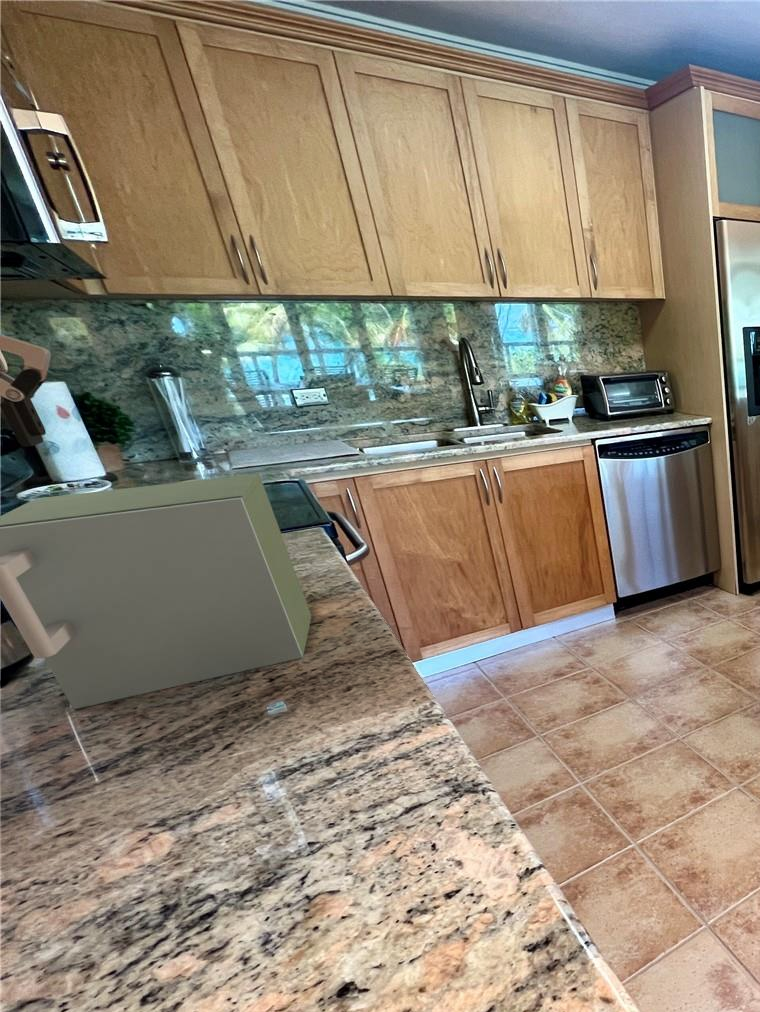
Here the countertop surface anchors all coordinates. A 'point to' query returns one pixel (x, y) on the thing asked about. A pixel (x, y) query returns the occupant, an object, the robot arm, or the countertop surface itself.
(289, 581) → the cupboard
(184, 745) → the countertop surface
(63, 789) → the countertop surface
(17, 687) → the countertop surface
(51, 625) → the door
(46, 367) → the robot arm
